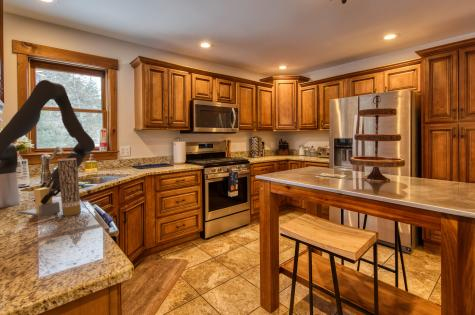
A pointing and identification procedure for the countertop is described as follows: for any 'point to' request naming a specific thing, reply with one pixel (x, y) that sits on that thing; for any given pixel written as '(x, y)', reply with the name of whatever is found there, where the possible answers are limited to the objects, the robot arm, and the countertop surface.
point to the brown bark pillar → (69, 186)
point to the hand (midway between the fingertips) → (39, 202)
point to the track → (44, 209)
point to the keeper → (41, 197)
